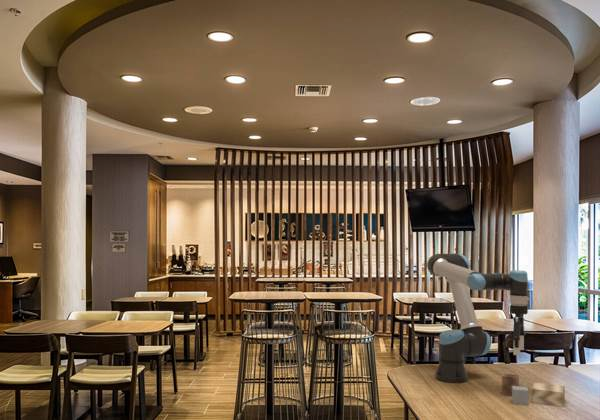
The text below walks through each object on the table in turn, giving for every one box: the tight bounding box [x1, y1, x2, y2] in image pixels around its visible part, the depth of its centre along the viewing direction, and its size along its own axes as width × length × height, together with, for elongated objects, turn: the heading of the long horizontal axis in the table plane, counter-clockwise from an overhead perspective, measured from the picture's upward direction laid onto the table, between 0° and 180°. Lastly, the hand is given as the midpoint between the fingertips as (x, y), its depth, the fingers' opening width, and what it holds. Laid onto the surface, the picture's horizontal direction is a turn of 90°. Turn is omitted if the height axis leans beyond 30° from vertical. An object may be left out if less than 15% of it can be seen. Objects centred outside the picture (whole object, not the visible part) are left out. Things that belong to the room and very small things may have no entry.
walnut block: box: [501, 373, 520, 397], centre depth 254 cm, size 6×6×8 cm
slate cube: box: [511, 385, 530, 406], centre depth 240 cm, size 6×6×6 cm
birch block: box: [531, 382, 566, 408], centre depth 243 cm, size 12×12×6 cm
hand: (518, 352), depth 257 cm, fingers open, 13 cm apart
